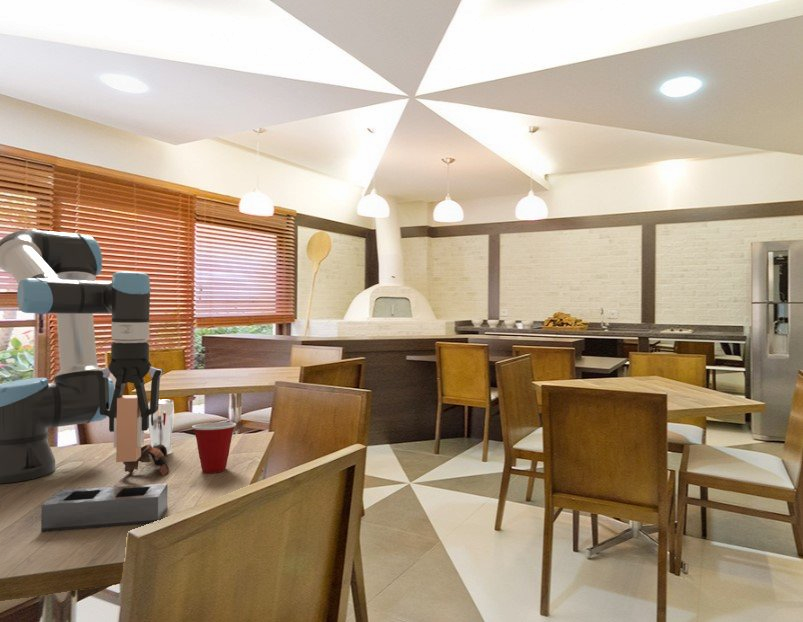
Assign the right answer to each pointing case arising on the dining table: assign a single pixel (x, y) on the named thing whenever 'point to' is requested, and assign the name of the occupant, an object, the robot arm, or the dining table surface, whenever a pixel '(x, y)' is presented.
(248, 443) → the dining table surface
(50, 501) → the grey peg hole block
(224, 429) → the plastic cup
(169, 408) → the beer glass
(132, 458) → the terracotta peg
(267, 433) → the dining table surface
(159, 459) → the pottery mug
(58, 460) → the dining table surface
